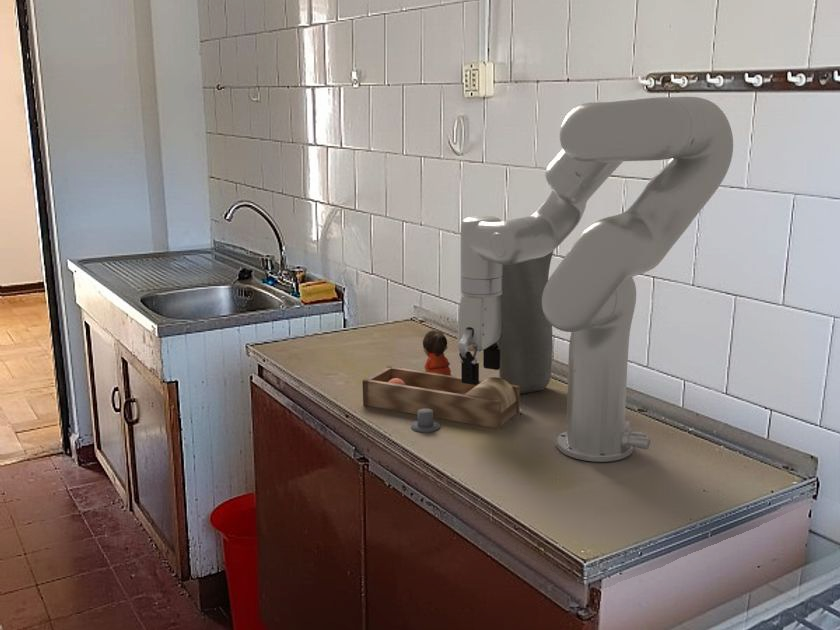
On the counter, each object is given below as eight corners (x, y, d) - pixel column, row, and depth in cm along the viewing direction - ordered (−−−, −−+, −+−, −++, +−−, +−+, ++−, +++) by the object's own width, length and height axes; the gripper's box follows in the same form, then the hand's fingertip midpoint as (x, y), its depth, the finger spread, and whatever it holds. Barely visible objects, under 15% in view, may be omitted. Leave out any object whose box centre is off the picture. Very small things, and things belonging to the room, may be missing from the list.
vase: (506, 402, 167) (508, 249, 160) (482, 383, 179) (482, 240, 171) (563, 395, 171) (567, 245, 164) (535, 376, 182) (538, 236, 175)
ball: (401, 371, 170) (413, 388, 169) (388, 382, 172) (400, 398, 171) (391, 377, 166) (403, 394, 166) (378, 388, 168) (390, 405, 168)
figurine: (458, 386, 177) (458, 330, 174) (440, 393, 173) (440, 335, 170) (435, 380, 181) (435, 325, 178) (417, 386, 177) (416, 330, 174)
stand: (444, 424, 156) (444, 408, 156) (431, 434, 152) (431, 418, 151) (419, 420, 159) (419, 404, 158) (405, 429, 154) (405, 413, 154)
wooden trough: (519, 418, 163) (519, 378, 161) (498, 437, 155) (499, 394, 153) (389, 397, 176) (388, 359, 174) (363, 412, 167) (362, 373, 165)
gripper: (481, 274, 164) (481, 361, 168) (441, 293, 149) (442, 386, 153) (518, 278, 161) (517, 365, 165) (481, 297, 146) (480, 393, 150)
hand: (481, 376), depth 159 cm, fingers open, 9 cm apart
